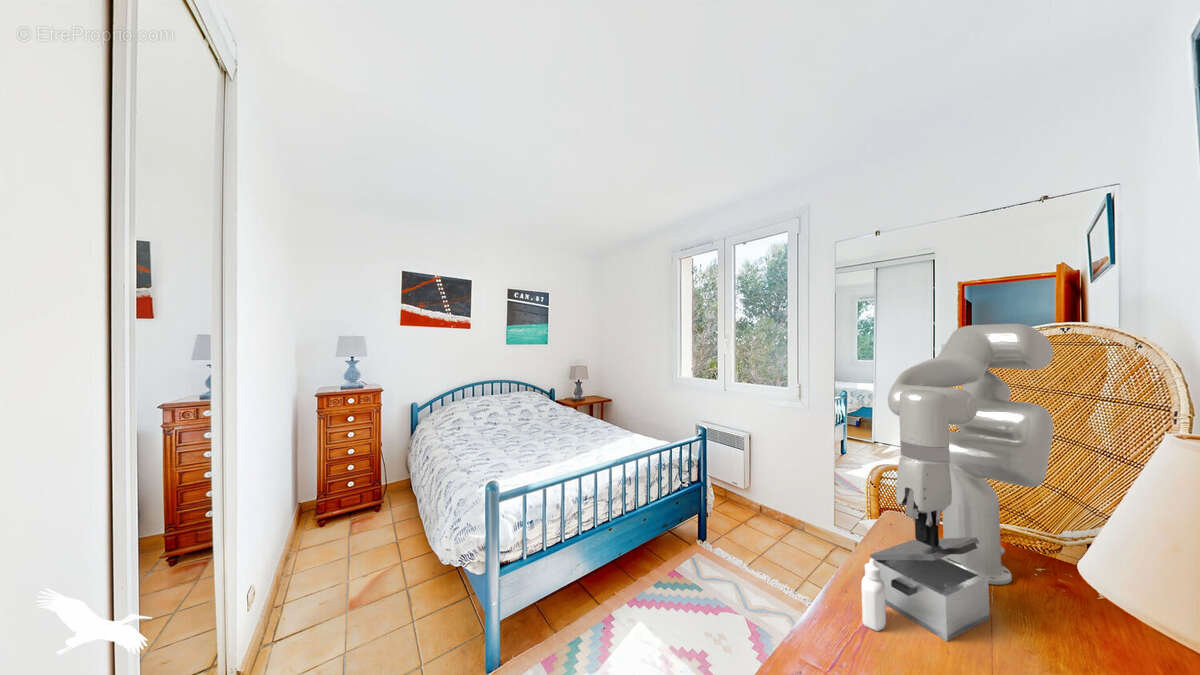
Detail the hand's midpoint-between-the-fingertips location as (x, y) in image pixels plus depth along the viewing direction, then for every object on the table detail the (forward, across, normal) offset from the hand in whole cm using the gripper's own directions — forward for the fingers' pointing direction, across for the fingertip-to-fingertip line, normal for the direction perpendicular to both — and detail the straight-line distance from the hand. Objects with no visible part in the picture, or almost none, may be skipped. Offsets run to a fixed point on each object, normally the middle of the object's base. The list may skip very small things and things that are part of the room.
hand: (926, 542), depth 74 cm
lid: (+2, 0, 0) cm, 2 cm away
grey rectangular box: (+13, 0, 0) cm, 13 cm away
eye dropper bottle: (+13, +14, -2) cm, 19 cm away
